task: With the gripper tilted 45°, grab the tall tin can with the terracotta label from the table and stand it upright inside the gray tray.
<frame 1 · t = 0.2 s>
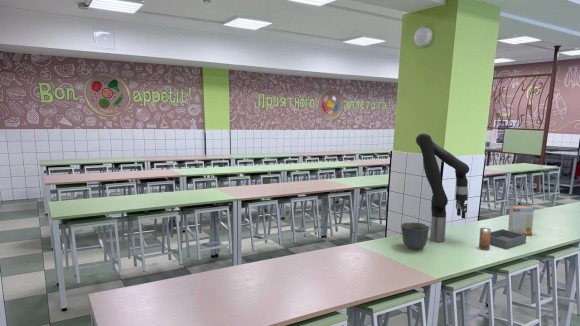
hand: (461, 217, 240), 18 cm above the table, tool pointing down, fingers open, 8 cm apart
dark grey plant pot: (414, 248, 230), on the table
gray tray: (503, 242, 242), on the table
tin can: (484, 248, 230), on the table
cracker box: (519, 234, 259), on the table
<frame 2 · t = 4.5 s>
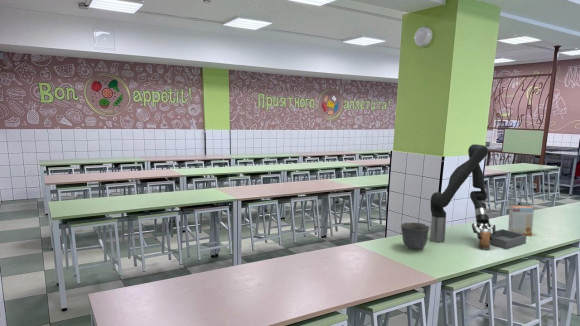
hand: (485, 239, 228), 7 cm above the table, tool tilted 45°, fingers closed on tin can, 6 cm apart
tin can: (484, 248, 230), on the table, touching gripper
everything else where it was.
when the fingers open (9 cm above the table, at t = 11.6 s): tin can drops 1 cm, resting on gray tray.
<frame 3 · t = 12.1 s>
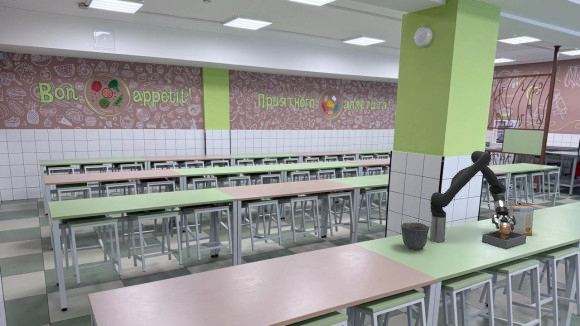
hand: (505, 229, 239), 10 cm above the table, tool tilted 45°, fingers open, 8 cm apart
tin can: (503, 241, 242), point 1 cm above the table, touching gray tray
everything else where it was.
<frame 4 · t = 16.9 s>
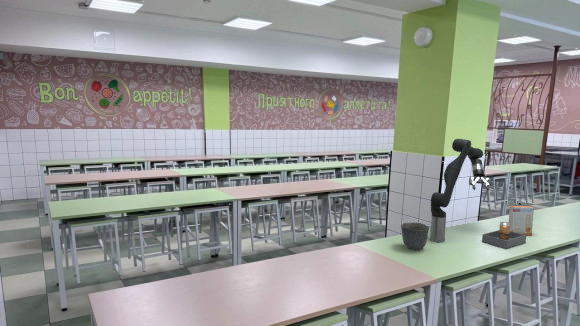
hand: (481, 189, 252), 34 cm above the table, tool tilted 45°, fingers open, 8 cm apart
nothing on the table moved.
at the end: tin can inside the target area on the gray tray (0.1 cm from its centre), point 0.8 cm above the gray tray's base; tin can tilted 0°; the gripper is holding nothing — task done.
